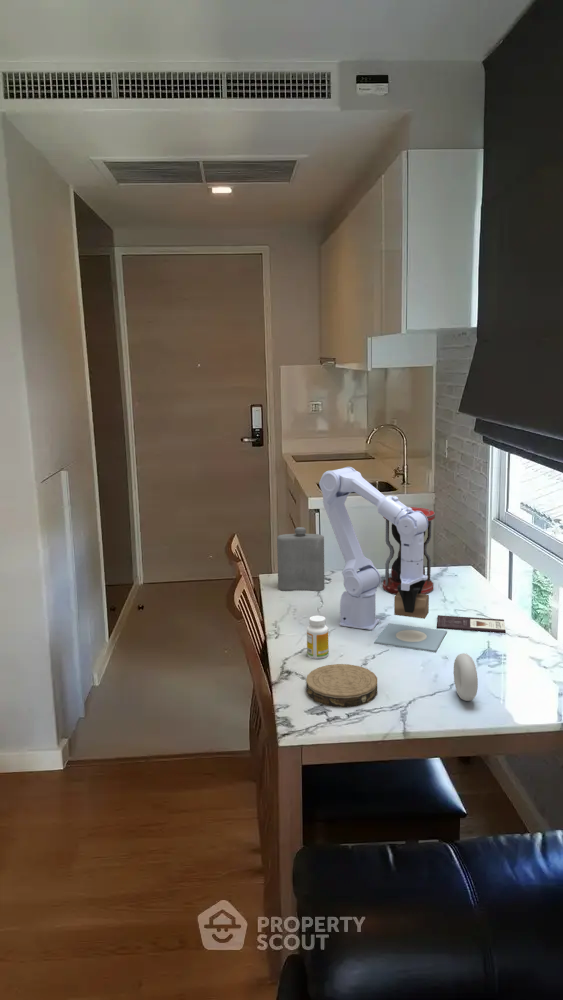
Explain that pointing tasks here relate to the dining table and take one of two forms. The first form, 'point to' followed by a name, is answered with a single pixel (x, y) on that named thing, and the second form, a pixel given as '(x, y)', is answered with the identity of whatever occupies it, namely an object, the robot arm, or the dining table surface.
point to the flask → (300, 561)
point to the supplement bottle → (317, 638)
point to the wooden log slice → (341, 685)
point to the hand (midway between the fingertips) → (411, 608)
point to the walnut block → (419, 610)
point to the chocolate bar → (471, 624)
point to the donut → (465, 677)
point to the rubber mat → (411, 637)
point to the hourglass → (395, 580)
